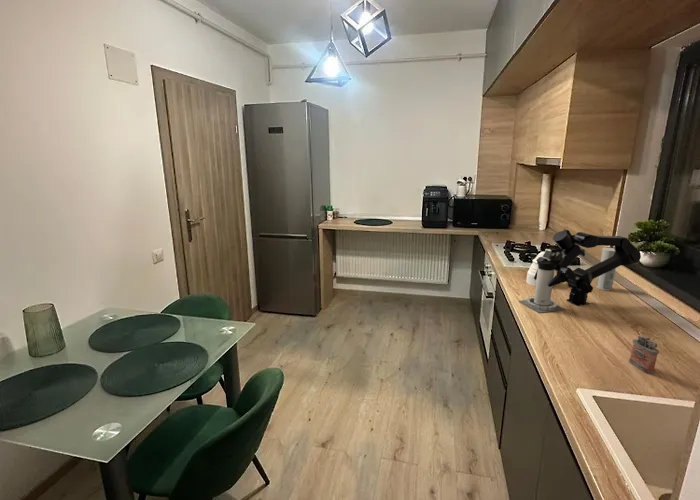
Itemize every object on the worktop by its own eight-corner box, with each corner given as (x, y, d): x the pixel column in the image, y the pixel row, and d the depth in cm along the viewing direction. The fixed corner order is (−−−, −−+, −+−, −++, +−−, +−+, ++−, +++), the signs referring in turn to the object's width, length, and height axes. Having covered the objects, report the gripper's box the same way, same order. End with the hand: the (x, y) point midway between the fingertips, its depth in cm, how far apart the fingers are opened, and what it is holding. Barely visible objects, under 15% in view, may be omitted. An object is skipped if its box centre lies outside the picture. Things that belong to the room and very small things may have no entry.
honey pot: (559, 284, 192) (564, 249, 187) (545, 289, 185) (550, 253, 180) (535, 277, 202) (539, 244, 198) (521, 282, 195) (525, 248, 191)
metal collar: (543, 298, 173) (543, 295, 172) (563, 308, 161) (563, 305, 161) (520, 301, 170) (520, 298, 170) (539, 311, 159) (539, 308, 158)
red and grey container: (625, 360, 122) (631, 332, 120) (635, 359, 123) (641, 331, 120) (646, 374, 115) (653, 344, 112) (657, 374, 115) (663, 344, 112)
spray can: (602, 285, 189) (609, 247, 184) (615, 290, 183) (622, 250, 178) (592, 287, 187) (599, 248, 182) (605, 291, 181) (612, 251, 176)
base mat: (543, 298, 173) (543, 298, 173) (565, 310, 161) (565, 309, 161) (518, 301, 170) (518, 300, 170) (538, 313, 158) (539, 312, 158)
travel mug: (545, 309, 161) (550, 264, 156) (530, 304, 167) (535, 260, 161) (553, 305, 164) (559, 261, 159) (539, 301, 170) (544, 258, 165)
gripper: (542, 239, 168) (517, 264, 169) (573, 249, 150) (545, 277, 151) (556, 255, 172) (531, 279, 172) (588, 267, 154) (560, 294, 155)
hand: (541, 282), depth 163 cm, fingers open, 9 cm apart
